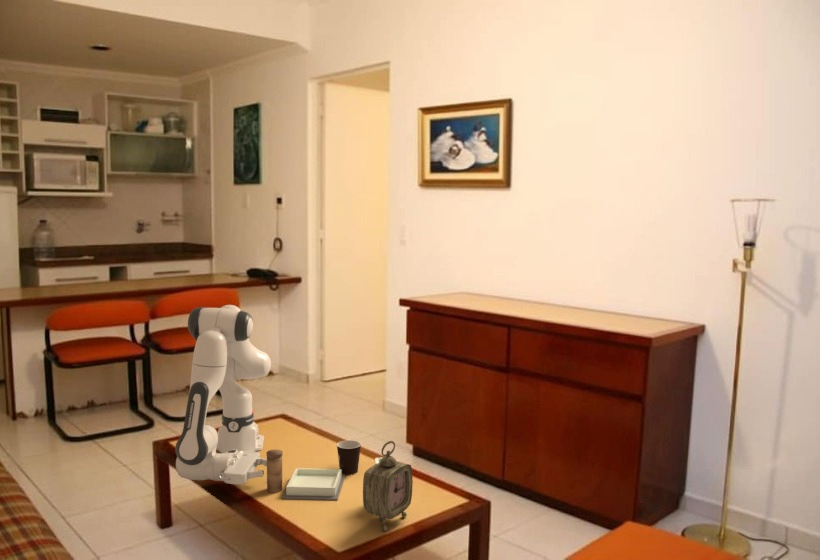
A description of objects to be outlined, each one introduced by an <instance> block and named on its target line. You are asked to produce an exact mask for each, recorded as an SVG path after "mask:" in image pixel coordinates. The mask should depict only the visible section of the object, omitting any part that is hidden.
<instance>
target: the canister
mask: <svg viewBox="0 0 820 560" xmlns="http://www.w3.org/2000/svg"><path fill="white" fill-rule="evenodd" d="M266 459H267V466H266V491H267V492H268V493H270V494H276V493H280V492H282V491H283V451H282V450H281V449H270V450H267V451H266Z"/></svg>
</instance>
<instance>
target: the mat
mask: <svg viewBox="0 0 820 560" xmlns="http://www.w3.org/2000/svg"><path fill="white" fill-rule="evenodd" d="M345 478H346V475H345V474H342V477H341V480H340V483H339V486H338V489H337V492H336V495H335V496H305V495H286V490H285V491H284V493H283V495H282V497H281V499H282V500H303V501H305V500H308V501H309V500H310V501H311V500H312V501H338V499H339V496H340V493H341V491H342V488H343V484H344V482H345V481H344V480H345Z"/></svg>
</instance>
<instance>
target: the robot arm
mask: <svg viewBox="0 0 820 560" xmlns="http://www.w3.org/2000/svg"><path fill="white" fill-rule="evenodd" d="M187 329H188V332H189V334H190V335H191V336H192V337H193V339H194V341H195V345H194V349H193V355H192V364H191V374H190V375H191V376H190V384H189V392H188V397H187V405H186V409H185V416H184V422H183V428H182V431H181V434H180V436H179V438H178V440H176V441H177V442H176V443H175V448H174V449H175V455H176V458H175V459H176V460H175V470H176V473H177V474H178V476H179V477H180V478H181V479H182V478H183V479H185V480H191V481H192V480H194V481H205V480H212V481H215V482H216V481H218V482H222V481H223V482H224V483H225V484H231V485H245V484H246V483H247V482H248V480H250V479H255V478H262V477H264V475H265V471H264V470H263V469H262V470H261V469H258V470H256V469H257V467H258V466H261V465H263V466H264V467H267V458H266V459H265V458H263V457H261V453H260V452H258V451H262V450H263V449H264V448H263V447H264V442H265V441H264V440H265V436H264V434H260V433H259V425H258V424H257V423H256V422H255V410H254V409H253V395H252V392H251V391H250V390H249V389H248V388H246V387H244V386H241V385H240V384H239V383H238V382H237V380H257V379H261V378H265V377H267V376H268V375H269V373H270V371H271V368H272V361H271V358H270V356H269V354H268V353H267V352H265V351H262V350H260V349H258V347H256V346H255V345H253V344H252V343H251V341H250V337H251V334H252V333H253V330H254V321H253V317H252V315H251V314H250V313H249V312H247V311H243V310H241V309H240V308H239V307H238V306H236V305H233V304H226V305H222V306H221V307H205V306H201V307H200V306H199V307H198V306H197V307H195V308H193V309H192V310H190V312H189V316H188V319H187ZM218 391H219V392H220V395H221V401H222V415H221V426H220V427H219V428H218V431H217V429H216V428H215V427H214V426H213V425H210V424H207V423H206V419H207V413H208V412H207V411H208V408H209V404H210V402H211V400H212V399H213V398H214V396H215V395H216V393H217V392H218ZM217 451H218V452H219V453H217Z"/></svg>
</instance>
